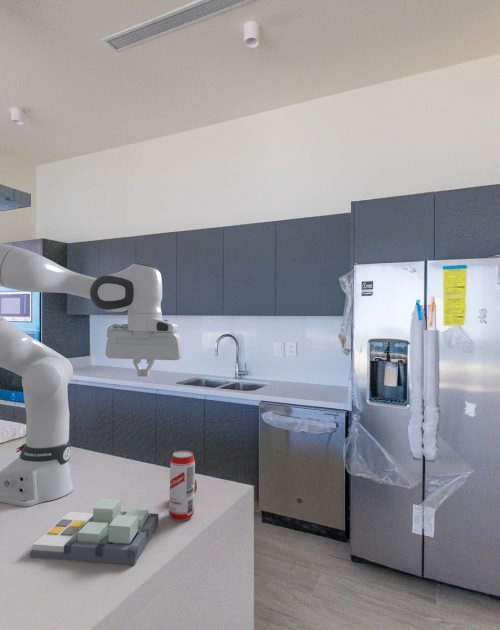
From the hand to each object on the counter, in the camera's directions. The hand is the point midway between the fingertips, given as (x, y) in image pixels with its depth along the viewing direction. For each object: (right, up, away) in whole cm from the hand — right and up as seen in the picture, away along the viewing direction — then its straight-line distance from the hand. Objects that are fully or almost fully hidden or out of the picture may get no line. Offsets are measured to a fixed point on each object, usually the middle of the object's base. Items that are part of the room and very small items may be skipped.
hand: (143, 376), depth 104 cm
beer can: (+11, -36, -4) cm, 37 cm away
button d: (+2, -34, -13) cm, 36 cm away
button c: (+1, -32, -20) cm, 37 cm away
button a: (-6, -34, -19) cm, 39 cm away
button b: (-5, -32, -13) cm, 34 cm away
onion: (+11, -36, +5) cm, 37 cm away
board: (-6, -35, -16) cm, 39 cm away
